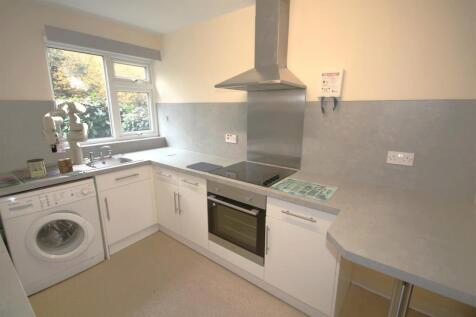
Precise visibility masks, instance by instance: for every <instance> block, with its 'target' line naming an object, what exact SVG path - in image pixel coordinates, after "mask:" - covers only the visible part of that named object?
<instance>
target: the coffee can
mask: <svg viewBox="0 0 476 317" xmlns="http://www.w3.org/2000/svg"><path fill="white" fill-rule="evenodd" d="M26 163H27V166H28V167H27V168H28V171H29V176H30V179H38V178H43V177H46V176H48V174H47V169H46V165H45V159H44V158H33V159H28V160H26Z"/></svg>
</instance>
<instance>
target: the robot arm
mask: <svg viewBox="0 0 476 317" xmlns="http://www.w3.org/2000/svg"><path fill="white" fill-rule="evenodd" d="M86 110H87V109H86V107H85V106H84V105H82V104H81V103H78V102H76V101H67V102H65V101H64V102H62V103H61V104H60V105H59V106H58V107H57V108H55V109H53V110H51V111H48V112H46V113H45V114H44V115H43V117H42V119H41V121H42V124H43V128H44V133H45V142H46V144H47V145H48V146H49V147H50V149H51V153H54V154H55V153H58V146H60V144H61V139H60V136H59V134H58V132H57V127H56V126H60V125H62V124H63V123H64V119H63V118H65V117H66V116H67V115H68V117H69V131H70V133H68V134H67V135H66V140H67V143H68V147H69V150H70V156H71V157H70V158H71V161H72V166H75V165H76V166H78V165H83V164H84V165H85V164H86V163H87V162H86V161H88V160H89V158H88V157H86V158H84V154H83V150H82V146H81V144H80V143H86V142H87V141H88V139H89V126H88V124H87V123H85V122H81V118H80V116H78V115H81V114H85V113H86V112H87V111H86Z"/></svg>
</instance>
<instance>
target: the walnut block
mask: <svg viewBox="0 0 476 317" xmlns="http://www.w3.org/2000/svg"><path fill="white" fill-rule="evenodd" d="M57 165H58V170H59V174H61V175H62V174H65V173H69V172H73V171H74V168H73V165H72V157H69V158H68V157H66V158H62V159H57Z"/></svg>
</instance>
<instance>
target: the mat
mask: <svg viewBox="0 0 476 317" xmlns="http://www.w3.org/2000/svg"><path fill="white" fill-rule="evenodd" d="M82 171H83V170H82V169H81V170H80V169H79V170H73V172H69V173H65V174H61V176H69V175H70V176H71V177H72V176H73V177H74V176H78V175H82V174H85V172H83V173H79V172H82ZM70 176H69V177H70Z"/></svg>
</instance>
